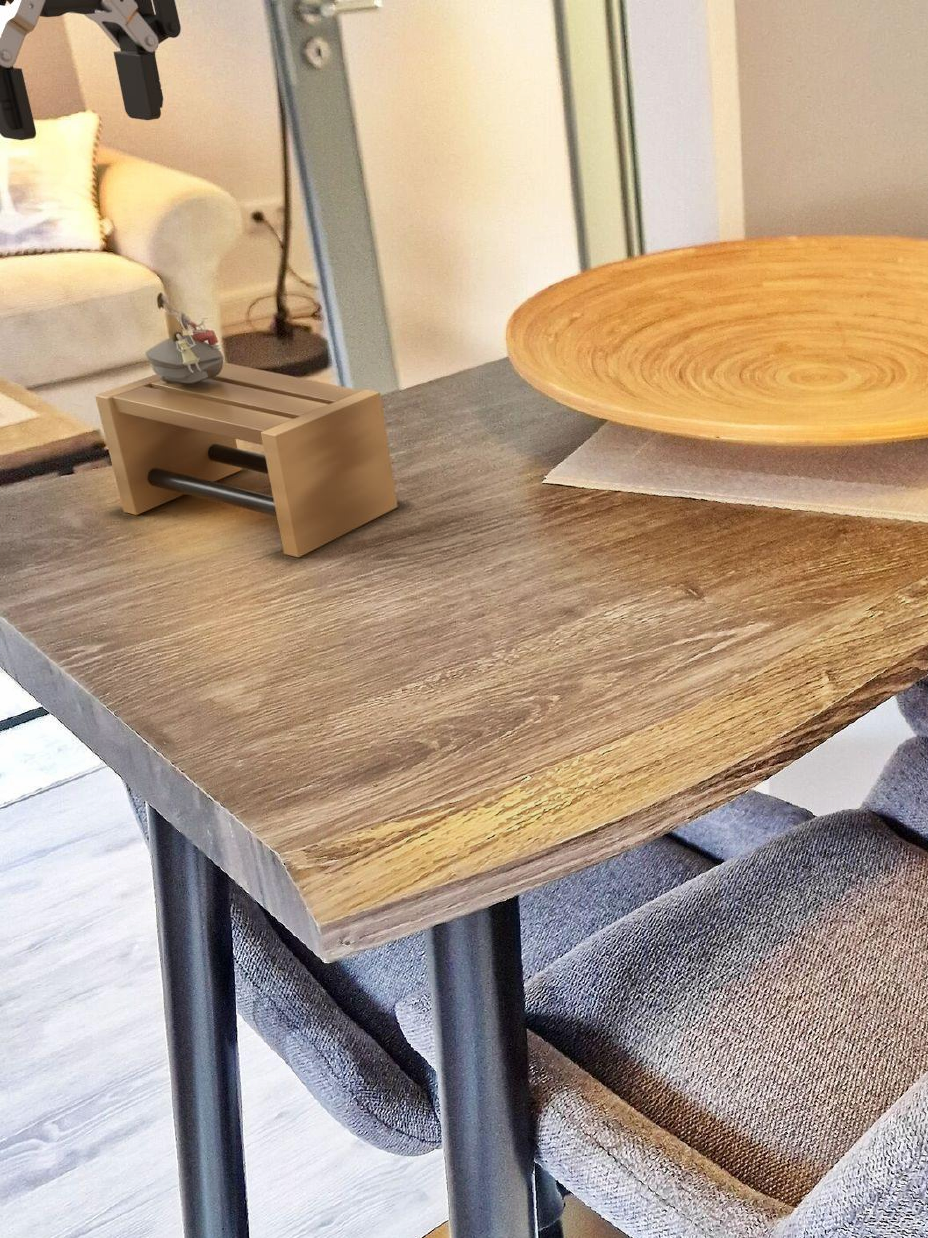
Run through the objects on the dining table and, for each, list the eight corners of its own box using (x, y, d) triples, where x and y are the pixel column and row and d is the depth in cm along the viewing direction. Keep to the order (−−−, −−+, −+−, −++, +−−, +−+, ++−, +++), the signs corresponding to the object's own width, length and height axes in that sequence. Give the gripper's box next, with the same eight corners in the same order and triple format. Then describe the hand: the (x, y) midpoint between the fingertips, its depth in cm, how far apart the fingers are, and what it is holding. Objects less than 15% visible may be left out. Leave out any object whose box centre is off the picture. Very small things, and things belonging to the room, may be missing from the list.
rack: (298, 557, 93) (275, 435, 89) (123, 512, 98) (94, 395, 94) (397, 507, 100) (380, 392, 96) (229, 467, 105) (206, 356, 101)
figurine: (144, 378, 97) (123, 286, 94) (215, 367, 99) (197, 276, 96) (165, 401, 93) (144, 306, 90) (238, 389, 96) (220, 296, 93)
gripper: (79, -190, 86) (138, 108, 94) (-166, -202, 75) (-76, 138, 82) (175, -186, 83) (227, 120, 91) (-64, -198, 72) (19, 153, 80)
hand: (83, 128), depth 87 cm, fingers open, 8 cm apart
